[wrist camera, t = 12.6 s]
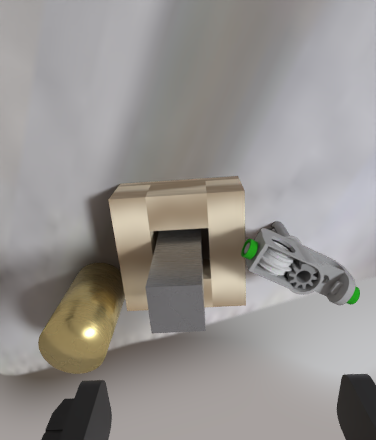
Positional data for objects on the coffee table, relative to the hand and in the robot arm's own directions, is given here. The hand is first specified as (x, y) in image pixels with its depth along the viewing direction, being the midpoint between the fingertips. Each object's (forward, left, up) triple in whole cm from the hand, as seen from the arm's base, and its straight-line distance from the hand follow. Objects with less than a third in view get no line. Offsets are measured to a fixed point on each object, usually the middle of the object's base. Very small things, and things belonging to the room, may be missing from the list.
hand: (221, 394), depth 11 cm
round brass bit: (+11, -13, -25) cm, 30 cm away
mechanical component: (+5, +7, -25) cm, 26 cm away
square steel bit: (+5, -3, -24) cm, 24 cm away
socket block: (+5, -3, -25) cm, 25 cm away
